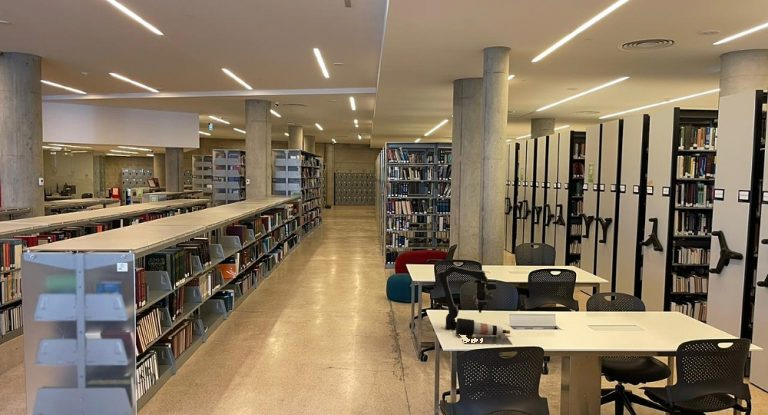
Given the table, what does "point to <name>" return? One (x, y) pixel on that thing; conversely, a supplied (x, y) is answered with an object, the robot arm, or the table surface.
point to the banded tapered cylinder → (478, 328)
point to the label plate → (489, 339)
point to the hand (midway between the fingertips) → (480, 312)
